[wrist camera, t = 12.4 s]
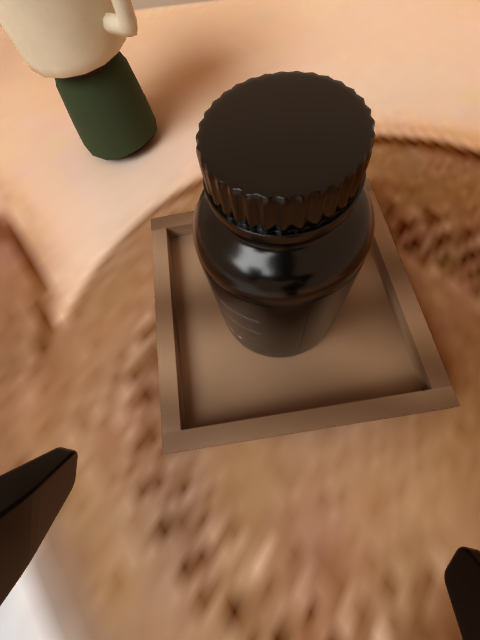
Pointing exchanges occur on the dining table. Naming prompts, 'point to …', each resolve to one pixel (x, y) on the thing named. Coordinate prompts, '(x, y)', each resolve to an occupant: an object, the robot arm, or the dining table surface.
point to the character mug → (86, 67)
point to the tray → (290, 372)
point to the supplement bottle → (284, 206)
